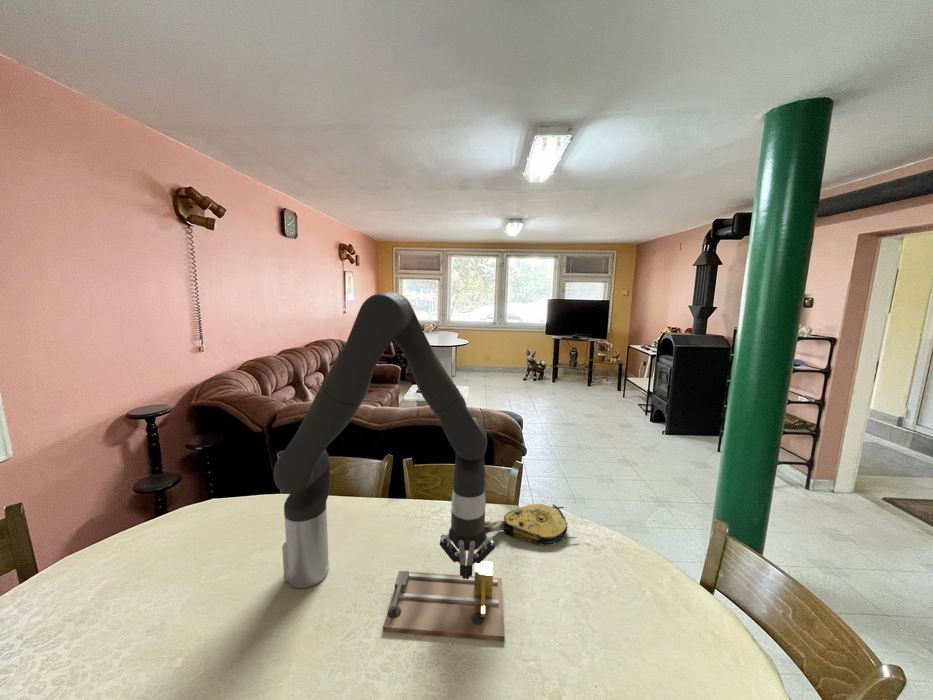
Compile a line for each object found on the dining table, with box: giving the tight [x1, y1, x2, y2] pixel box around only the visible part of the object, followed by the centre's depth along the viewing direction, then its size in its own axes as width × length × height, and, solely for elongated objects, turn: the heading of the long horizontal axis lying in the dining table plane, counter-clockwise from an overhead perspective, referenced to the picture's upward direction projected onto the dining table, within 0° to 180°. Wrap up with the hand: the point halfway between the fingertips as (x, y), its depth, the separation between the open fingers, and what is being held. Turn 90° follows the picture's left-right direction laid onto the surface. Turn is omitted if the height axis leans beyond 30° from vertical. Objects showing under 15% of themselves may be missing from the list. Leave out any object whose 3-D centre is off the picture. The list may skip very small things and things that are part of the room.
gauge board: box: [382, 570, 506, 642], centre depth 81 cm, size 25×15×4 cm, turn 87°
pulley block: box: [484, 503, 579, 546], centre depth 107 cm, size 14×6×30 cm
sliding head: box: [474, 560, 494, 619], centre depth 80 cm, size 4×10×6 cm, turn 177°
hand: (466, 576), depth 83 cm, fingers closed
